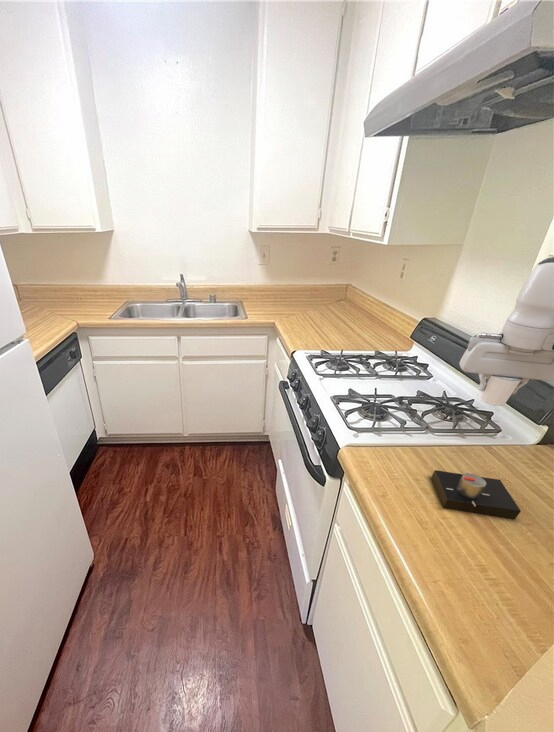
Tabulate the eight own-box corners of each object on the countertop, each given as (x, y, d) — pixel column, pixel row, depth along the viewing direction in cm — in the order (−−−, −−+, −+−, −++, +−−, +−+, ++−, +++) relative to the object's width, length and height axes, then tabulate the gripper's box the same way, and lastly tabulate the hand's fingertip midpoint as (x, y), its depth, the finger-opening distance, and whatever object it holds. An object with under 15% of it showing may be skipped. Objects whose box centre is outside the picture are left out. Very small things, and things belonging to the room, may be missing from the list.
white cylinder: (479, 404, 85) (492, 377, 81) (472, 392, 90) (484, 367, 86) (511, 409, 83) (526, 382, 79) (503, 397, 88) (516, 371, 84)
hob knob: (474, 487, 76) (482, 473, 74) (482, 500, 73) (490, 487, 71) (453, 483, 77) (460, 470, 75) (459, 497, 74) (467, 483, 71)
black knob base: (494, 489, 81) (500, 479, 79) (515, 524, 72) (523, 513, 70) (430, 479, 83) (434, 469, 81) (443, 512, 74) (449, 501, 72)
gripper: (478, 336, 77) (454, 392, 84) (584, 345, 73) (549, 402, 81) (468, 327, 82) (446, 381, 89) (567, 336, 78) (535, 391, 86)
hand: (496, 391), depth 85 cm, fingers closed on white cylinder, 5 cm apart
